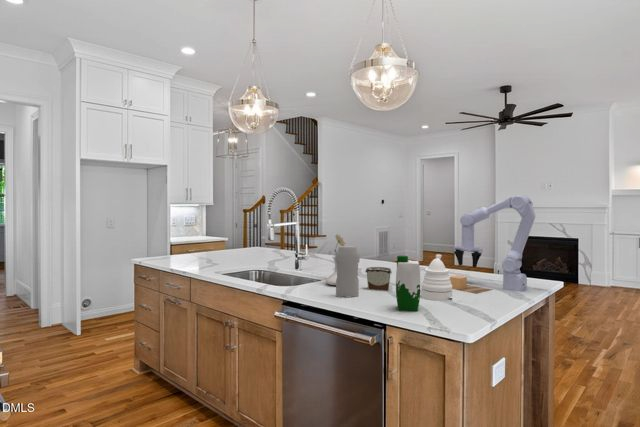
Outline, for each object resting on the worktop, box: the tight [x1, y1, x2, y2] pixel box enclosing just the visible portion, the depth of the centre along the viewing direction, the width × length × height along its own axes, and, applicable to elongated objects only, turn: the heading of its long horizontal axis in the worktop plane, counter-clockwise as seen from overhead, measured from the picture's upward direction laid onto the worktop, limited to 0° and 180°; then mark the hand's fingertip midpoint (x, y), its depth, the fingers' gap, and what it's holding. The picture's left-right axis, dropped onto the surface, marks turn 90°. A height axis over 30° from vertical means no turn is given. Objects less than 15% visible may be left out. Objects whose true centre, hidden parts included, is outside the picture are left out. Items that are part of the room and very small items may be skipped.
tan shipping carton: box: [449, 275, 468, 290], centre depth 186 cm, size 5×5×5 cm
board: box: [452, 284, 494, 295], centre depth 184 cm, size 16×14×1 cm
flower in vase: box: [325, 233, 346, 286], centre depth 198 cm, size 13×11×25 cm
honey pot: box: [420, 254, 453, 302], centre depth 172 cm, size 13×13×18 cm
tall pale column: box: [334, 244, 361, 298], centre depth 173 cm, size 11×4×22 cm, turn 95°
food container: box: [364, 266, 393, 292], centre depth 188 cm, size 12×6×10 cm, turn 71°
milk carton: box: [395, 255, 421, 312], centre depth 153 cm, size 9×9×20 cm
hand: (467, 266), depth 197 cm, fingers open, 7 cm apart
